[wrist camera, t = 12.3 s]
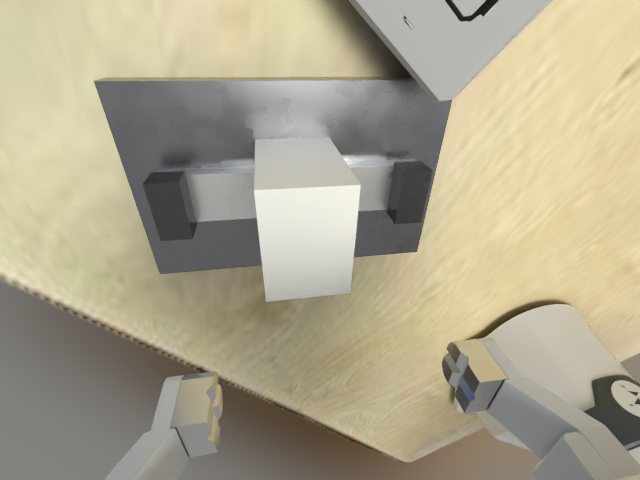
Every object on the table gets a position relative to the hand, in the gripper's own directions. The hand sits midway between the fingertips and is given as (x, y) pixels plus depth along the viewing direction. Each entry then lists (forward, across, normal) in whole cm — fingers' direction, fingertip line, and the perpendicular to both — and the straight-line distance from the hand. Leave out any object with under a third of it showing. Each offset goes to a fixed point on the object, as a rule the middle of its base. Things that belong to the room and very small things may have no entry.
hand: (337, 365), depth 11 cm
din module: (+15, 0, 0) cm, 15 cm away
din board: (+16, 0, 0) cm, 16 cm away
